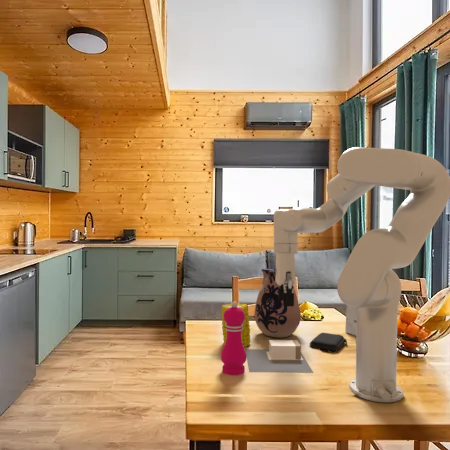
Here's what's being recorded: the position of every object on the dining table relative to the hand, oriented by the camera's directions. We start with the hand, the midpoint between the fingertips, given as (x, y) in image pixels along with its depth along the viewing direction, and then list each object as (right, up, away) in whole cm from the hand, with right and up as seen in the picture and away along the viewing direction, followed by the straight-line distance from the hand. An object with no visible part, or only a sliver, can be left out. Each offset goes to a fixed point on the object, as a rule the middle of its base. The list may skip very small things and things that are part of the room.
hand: (285, 303), depth 122 cm
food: (-15, -17, +12) cm, 26 cm away
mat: (-3, -17, -4) cm, 18 cm away
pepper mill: (-17, -17, -13) cm, 27 cm away
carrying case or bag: (+17, -18, +13) cm, 28 cm away
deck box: (0, -17, 0) cm, 17 cm away
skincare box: (+31, -18, +28) cm, 46 cm away
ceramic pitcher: (+1, -17, +27) cm, 32 cm away
